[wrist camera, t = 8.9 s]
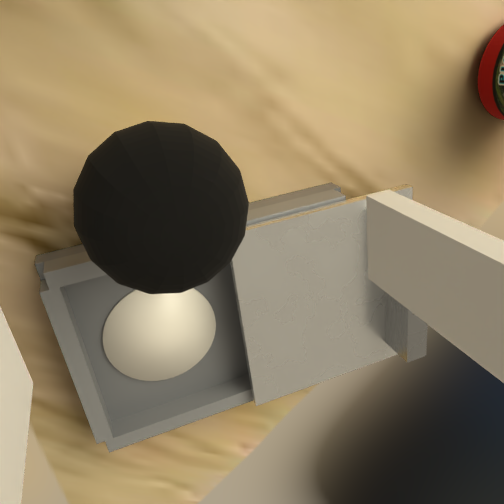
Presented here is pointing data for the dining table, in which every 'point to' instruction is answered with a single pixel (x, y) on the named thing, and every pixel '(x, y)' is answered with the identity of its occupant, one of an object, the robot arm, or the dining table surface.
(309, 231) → the lid
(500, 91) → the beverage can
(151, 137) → the light bulb
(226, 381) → the holder
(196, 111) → the dining table surface
